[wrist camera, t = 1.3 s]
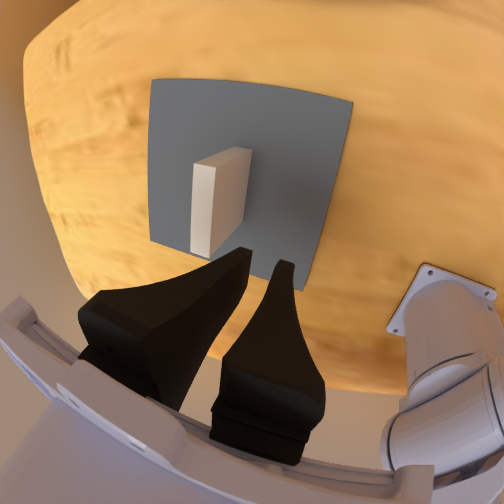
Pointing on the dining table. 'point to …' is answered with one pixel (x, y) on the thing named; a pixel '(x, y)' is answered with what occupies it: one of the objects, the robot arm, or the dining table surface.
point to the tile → (218, 198)
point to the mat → (261, 168)
